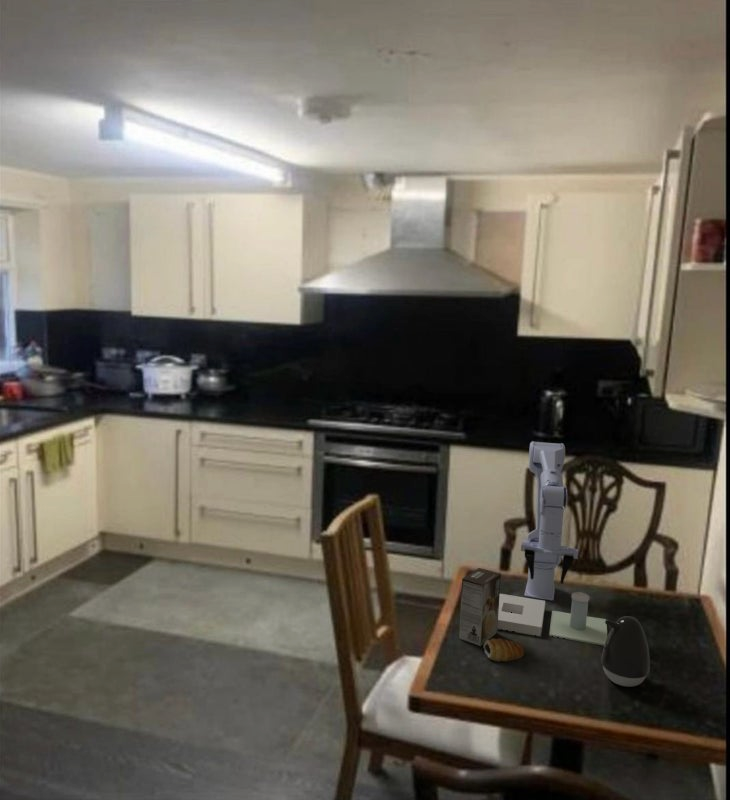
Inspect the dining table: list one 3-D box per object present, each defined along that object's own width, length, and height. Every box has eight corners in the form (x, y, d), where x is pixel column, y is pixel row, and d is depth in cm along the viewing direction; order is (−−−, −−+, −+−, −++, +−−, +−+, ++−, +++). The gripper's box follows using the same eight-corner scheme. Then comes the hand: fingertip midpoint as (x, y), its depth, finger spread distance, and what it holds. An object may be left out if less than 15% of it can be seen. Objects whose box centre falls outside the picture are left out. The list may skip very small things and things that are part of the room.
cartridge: (569, 621, 186) (571, 591, 185) (586, 624, 185) (589, 593, 184) (568, 629, 182) (571, 597, 181) (586, 631, 181) (589, 600, 179)
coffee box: (475, 625, 184) (479, 566, 181) (497, 633, 180) (502, 573, 177) (458, 638, 176) (461, 577, 174) (481, 647, 172) (485, 585, 170)
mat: (552, 612, 192) (552, 610, 192) (606, 621, 188) (606, 619, 188) (549, 636, 179) (549, 634, 179) (607, 646, 175) (607, 644, 175)
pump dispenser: (593, 667, 165) (599, 606, 163) (638, 669, 165) (644, 608, 162) (606, 692, 155) (612, 627, 153) (654, 694, 155) (661, 629, 152)
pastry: (517, 647, 174) (518, 632, 173) (528, 661, 167) (529, 647, 166) (480, 649, 172) (482, 634, 171) (490, 664, 165) (491, 649, 165)
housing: (486, 599, 198) (486, 591, 198) (544, 609, 194) (545, 600, 193) (477, 625, 183) (478, 616, 183) (540, 636, 179) (541, 627, 178)
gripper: (521, 531, 184) (517, 581, 186) (579, 539, 180) (575, 589, 182) (523, 523, 191) (520, 571, 193) (579, 530, 187) (575, 579, 189)
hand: (546, 580), depth 188 cm, fingers open, 7 cm apart
